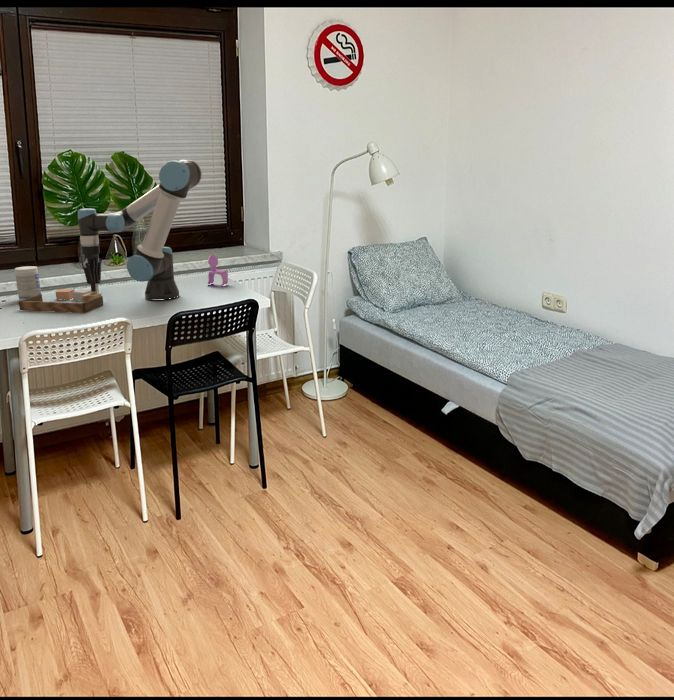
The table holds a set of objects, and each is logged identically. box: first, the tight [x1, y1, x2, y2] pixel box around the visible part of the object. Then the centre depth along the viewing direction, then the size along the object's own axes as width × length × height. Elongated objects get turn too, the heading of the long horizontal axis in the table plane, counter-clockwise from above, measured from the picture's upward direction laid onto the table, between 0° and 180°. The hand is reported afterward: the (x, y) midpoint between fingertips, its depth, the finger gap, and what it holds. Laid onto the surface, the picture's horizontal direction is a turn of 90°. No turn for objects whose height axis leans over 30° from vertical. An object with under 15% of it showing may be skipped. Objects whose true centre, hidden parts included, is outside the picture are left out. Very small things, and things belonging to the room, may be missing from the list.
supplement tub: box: [14, 265, 42, 301], centre depth 309 cm, size 10×10×15 cm
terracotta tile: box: [55, 288, 76, 301], centre depth 313 cm, size 6×6×4 cm
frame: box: [18, 293, 104, 314], centre depth 295 cm, size 30×15×4 cm, turn 80°
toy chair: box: [207, 254, 229, 286], centre depth 337 cm, size 8×9×15 cm
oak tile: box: [81, 292, 103, 303], centre depth 303 cm, size 6×6×4 cm
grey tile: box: [72, 289, 91, 301], centre depth 312 cm, size 6×6×4 cm
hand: (95, 298), depth 307 cm, fingers closed
